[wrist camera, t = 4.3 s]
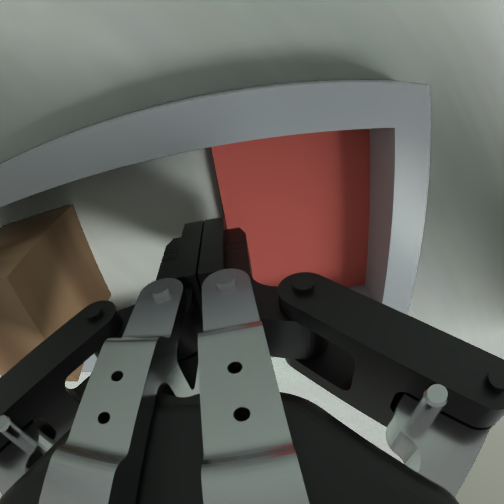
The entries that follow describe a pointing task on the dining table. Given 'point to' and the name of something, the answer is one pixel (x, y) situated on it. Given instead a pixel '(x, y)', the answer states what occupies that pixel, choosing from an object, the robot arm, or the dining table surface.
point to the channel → (266, 126)
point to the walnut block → (44, 281)
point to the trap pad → (300, 203)
